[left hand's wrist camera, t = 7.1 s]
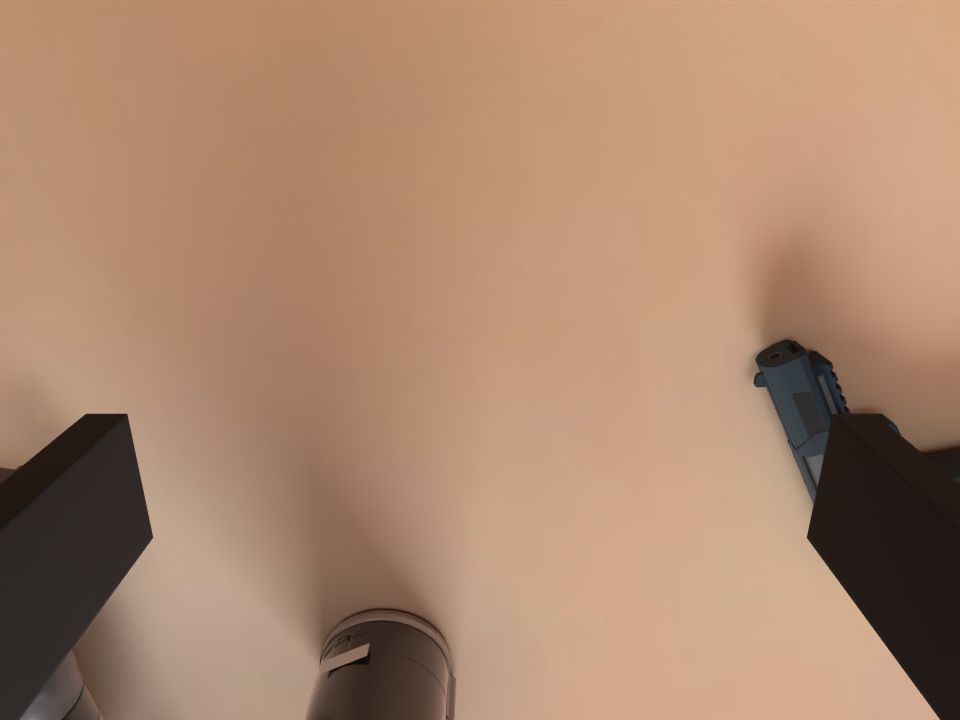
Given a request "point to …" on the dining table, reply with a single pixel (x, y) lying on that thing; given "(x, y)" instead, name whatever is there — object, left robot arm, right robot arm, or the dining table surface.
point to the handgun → (814, 406)
